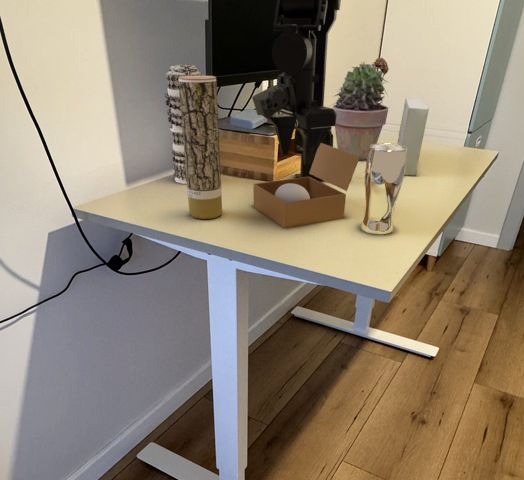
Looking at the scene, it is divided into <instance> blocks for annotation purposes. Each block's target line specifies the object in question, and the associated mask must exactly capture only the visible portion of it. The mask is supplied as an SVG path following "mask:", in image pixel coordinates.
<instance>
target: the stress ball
mask: <svg viewBox="0 0 524 480" xmlns="http://www.w3.org/2000/svg"><path fill="white" fill-rule="evenodd" d="M275 196H276V197H278V198H279V199H281V200H283V201H284V202H286V203H287V202H294V201H301V200H307V199H310V196H309V193H308V192H307V191H306V189H304V188H303V187H302V186H300V185H298V184H293V183H288V184H284V185H282V186H280V187H279V188H278V189H277V190H276V193H275Z"/></svg>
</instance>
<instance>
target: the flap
mask: <svg viewBox="0 0 524 480" xmlns="http://www.w3.org/2000/svg"><path fill="white" fill-rule="evenodd" d="M359 158H360V157H359V156H356V155H353V154H350V153H348V152H345V151H342V150H339V149H338V147H334V146H333V147H331V146H328V145H326V144H323V143H321V144H320V146H319V148H318V150H317V152H316V155H315V158H314V161H313V164H312V167H311V169H310V172H309V174H311V175H313V176H315V177H318V178H320V179H322V180H321V181H324V182H326V183H327V184H330V185H333V186H335V187H337V188H339V189H341V190H343V191H345V192H348V189H349V187H350V184H351V182H352V179H353V176H354V173H355V171H356V168H357V165H358V163H359V161H360V160H359Z"/></svg>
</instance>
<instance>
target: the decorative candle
mask: <svg viewBox="0 0 524 480" xmlns="http://www.w3.org/2000/svg"><path fill="white" fill-rule="evenodd" d="M201 74H203V73H202V72H200V71H199V69H198V67H197V66H196V65H194V64H172V65H171V66H169V68H168V71H167V72H166V73H165V75H166V78H167V93H164V97H165V99H166V100H165V105H166V106H167V107H168V110H166V112H167V115H168V118H167V122H168V123H170V124H171V125H170V126H169V130H170V132H172V149H173V150H171V154H172V155H173V157H172V161H173V162H174V164H173V167H172V168H173V170H174V172H173V176H174V182H176V183H178V184H183V185H187V180H186V167H185V155H184V143H183V131H182V119H181V107H180V95H179V83H178V80H179V78H178V77H181V76H201Z"/></svg>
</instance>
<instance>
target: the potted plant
mask: <svg viewBox="0 0 524 480" xmlns="http://www.w3.org/2000/svg"><path fill="white" fill-rule="evenodd" d="M388 65H389V64H388V62H387V61H386V60H385V59H384V57H377V58H376V59H375V60H374V61H373V63H372V64H370V63H365V62H362V63H359V66H352V69H353V70H352V71H347V73H346V74H345V77H344V81H343V83H342V86H340V88H339V91H338V93H337V94H335V95H333V96H332V98H334V97H337V96H338V98H337V99H336V101H335V102H334V103H333V106H332V109H333V110H334V111H335V112H336V114H337V118H336V126H334V131H335V140H336V148H337V149H339V150H342V151H345V152H348V153H350V154H353V155H356V156H359V157H360V158H359V161H367V157H368V152H369V146H370V145H372V144H376V143H378V141H379V138H380V135H381V132H382V130H383V126H385V125H386V123H387V117H388V113H389V109H390V107H388V106H387V105H384V104H383V100H384V99H385V94H386V96H387V97H389V96H388V93H387V91H386V89H385V86H384V84H385V83H388V80H385V79H384V77H385V75H386V74H387V73H388V72H389V66H388ZM378 69H379V70H378ZM383 81H384V82H383ZM390 83H391V82H390ZM391 84H392V83H391ZM331 92H333V91H331ZM384 92H385V93H384ZM382 95H383V96H382ZM328 108H331V105H329V106H328Z"/></svg>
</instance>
